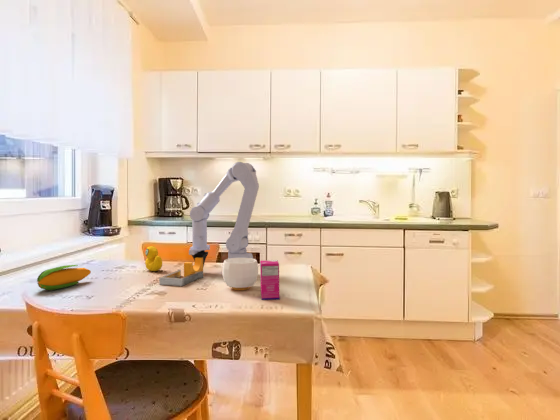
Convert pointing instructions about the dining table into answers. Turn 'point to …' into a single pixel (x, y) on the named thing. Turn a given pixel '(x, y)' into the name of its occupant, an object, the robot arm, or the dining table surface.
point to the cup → (240, 272)
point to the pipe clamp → (193, 266)
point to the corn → (61, 277)
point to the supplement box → (269, 279)
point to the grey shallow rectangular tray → (175, 279)
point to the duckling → (153, 259)
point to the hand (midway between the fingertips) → (199, 269)
